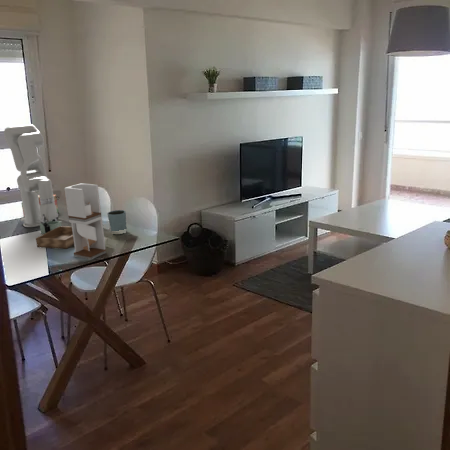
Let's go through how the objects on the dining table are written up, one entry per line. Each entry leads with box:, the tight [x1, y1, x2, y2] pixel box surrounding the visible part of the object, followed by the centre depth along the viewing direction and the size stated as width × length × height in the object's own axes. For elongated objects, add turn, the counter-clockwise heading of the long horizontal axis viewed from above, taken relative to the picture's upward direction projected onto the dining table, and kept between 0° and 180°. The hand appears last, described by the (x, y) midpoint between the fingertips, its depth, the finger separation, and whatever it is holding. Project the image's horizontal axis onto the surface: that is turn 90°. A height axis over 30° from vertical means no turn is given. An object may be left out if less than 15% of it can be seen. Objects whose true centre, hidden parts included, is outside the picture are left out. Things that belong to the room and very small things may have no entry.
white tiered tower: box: [63, 182, 107, 261], centre depth 251 cm, size 11×11×35 cm
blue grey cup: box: [107, 209, 128, 232], centre depth 288 cm, size 10×10×12 cm
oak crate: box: [35, 225, 74, 250], centre depth 278 cm, size 18×22×5 cm
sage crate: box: [39, 220, 62, 235], centre depth 295 cm, size 10×6×6 cm, turn 74°
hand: (51, 230), depth 295 cm, fingers closed on sage crate, 6 cm apart
